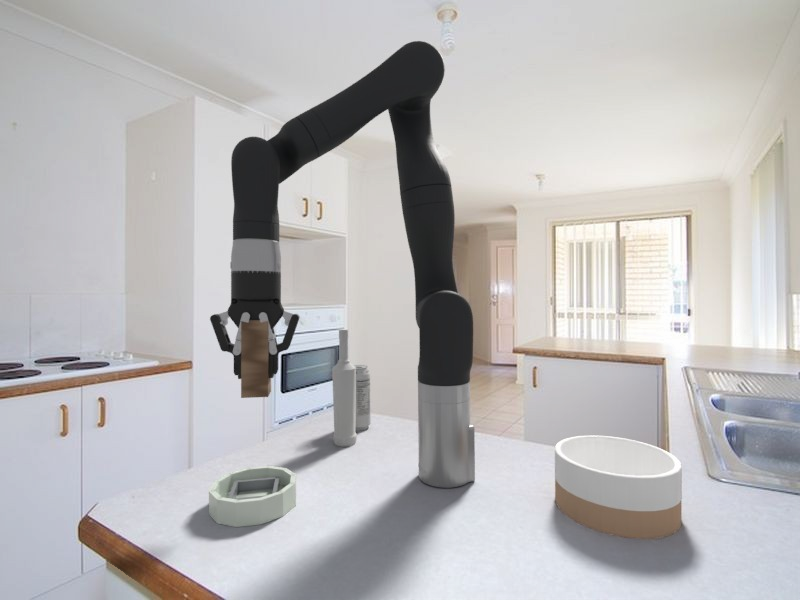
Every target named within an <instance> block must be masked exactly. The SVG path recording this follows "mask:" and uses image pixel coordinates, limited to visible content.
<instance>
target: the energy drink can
mask: <svg viewBox="0 0 800 600" xmlns="http://www.w3.org/2000/svg"><path fill="white" fill-rule="evenodd" d="M352 365H353V366H355V367H356V422H355V432H358V431H359V432H360V431H365V430H367V429H369V426H370V425H371V421H372V420H371V418H372V417H371V415H372V414H371V412H372V411H371V372H370V371H369V369H368V366H367V365H364V364H363V365H362V364H352Z"/></svg>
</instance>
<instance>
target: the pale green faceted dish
mask: <svg viewBox="0 0 800 600" xmlns="http://www.w3.org/2000/svg"><path fill="white" fill-rule="evenodd" d="M208 500H209V501H208V504H209V505H208V508H209V509H208V510H209V513H208V515H209V516H210V517H211V518H212V520H214V522H215V523H216V524H220V525H222V526H223V525H224V526H230V527H235V528H241V527H250V526H260V525H263V524H266V523H269V522H271V521H275V520H276V519H279V518H282V517H284V516H285V515H286V514H288V513H289V512H290V511H291V510H292V509H293V508H295V506H297V474H296V473H294V472H293V471H291V470H290V469H289V468H287V467H280V466H274V465H273V466H272V465H265V466H253V467H252V466H251V467H247V468H246V467H245V468H244V469H243V468H242V469H239V470H236V471H231V472H228V473H227V474H225V475H223V476H222V477H219V478H218V479H216V480H215V481H213V483H212V484H211V487H210V489H208Z"/></svg>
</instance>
